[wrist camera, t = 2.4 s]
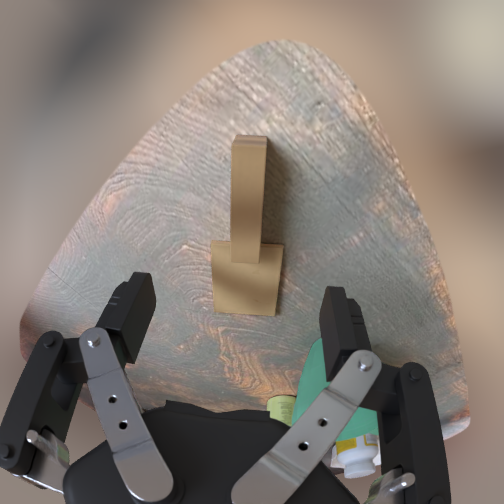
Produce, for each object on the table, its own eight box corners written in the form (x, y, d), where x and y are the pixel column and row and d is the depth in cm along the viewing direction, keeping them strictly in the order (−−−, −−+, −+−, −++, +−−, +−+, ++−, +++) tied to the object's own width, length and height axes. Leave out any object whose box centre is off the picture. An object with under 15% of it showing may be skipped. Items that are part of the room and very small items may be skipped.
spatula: (209, 134, 21) (201, 144, 18) (294, 138, 20) (297, 148, 18) (214, 307, 30) (210, 330, 28) (274, 312, 30) (274, 334, 28)
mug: (271, 351, 34) (269, 430, 26) (337, 305, 29) (353, 392, 21) (347, 388, 39) (356, 451, 30) (405, 355, 34) (425, 421, 26)
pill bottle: (326, 418, 44) (330, 480, 35) (343, 401, 41) (351, 470, 31) (359, 419, 45) (367, 477, 35) (378, 402, 41) (389, 466, 32)
